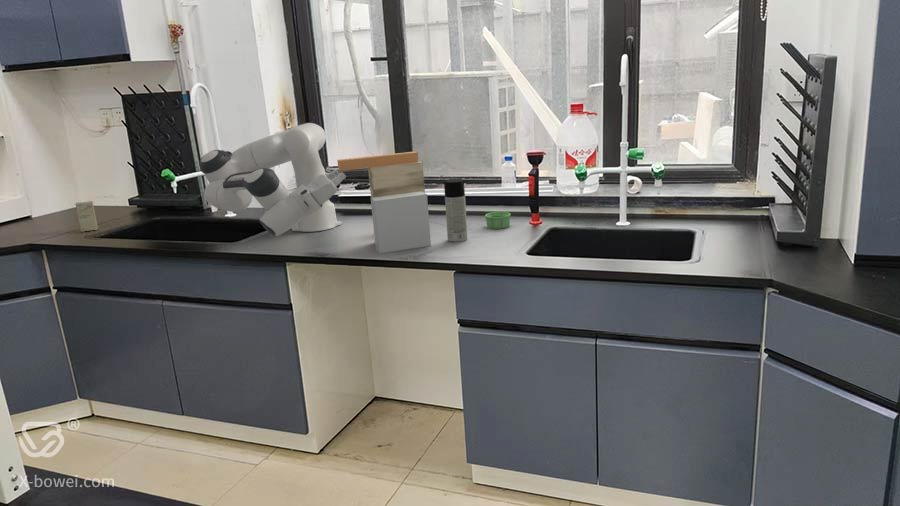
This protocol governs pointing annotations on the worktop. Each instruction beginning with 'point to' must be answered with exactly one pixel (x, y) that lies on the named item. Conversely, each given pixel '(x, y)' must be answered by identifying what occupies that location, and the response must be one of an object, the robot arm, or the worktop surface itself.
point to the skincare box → (86, 216)
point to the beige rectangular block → (396, 179)
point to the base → (401, 221)
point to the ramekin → (498, 220)
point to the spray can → (455, 210)
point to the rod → (377, 161)
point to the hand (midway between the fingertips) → (342, 172)
